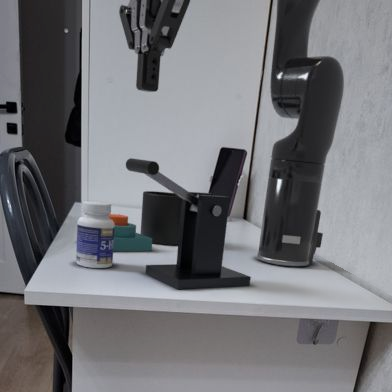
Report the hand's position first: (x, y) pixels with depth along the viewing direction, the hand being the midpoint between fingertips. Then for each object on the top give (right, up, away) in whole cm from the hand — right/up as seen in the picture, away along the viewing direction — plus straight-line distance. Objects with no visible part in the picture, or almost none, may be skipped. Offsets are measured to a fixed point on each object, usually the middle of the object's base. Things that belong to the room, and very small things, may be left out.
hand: (146, 90), depth 64 cm
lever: (+3, -11, +7) cm, 13 cm away
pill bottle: (-9, -18, +16) cm, 26 cm away
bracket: (+6, -21, +13) cm, 25 cm away
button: (-8, -9, +31) cm, 33 cm away
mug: (-1, -9, +44) cm, 45 cm away
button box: (-8, -12, +32) cm, 35 cm away
